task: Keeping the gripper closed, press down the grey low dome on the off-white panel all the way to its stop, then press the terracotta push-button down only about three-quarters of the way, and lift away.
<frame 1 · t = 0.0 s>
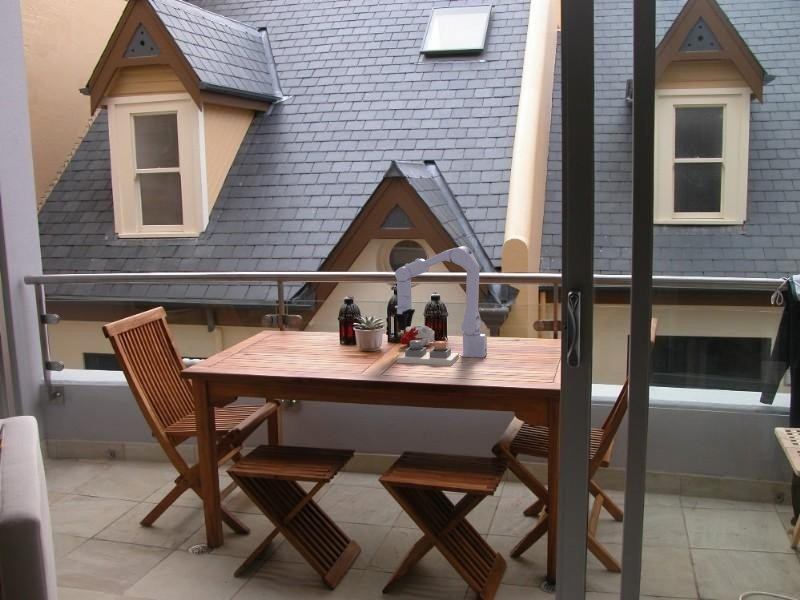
hand: (405, 328, 329), 10 cm above the table, fingers open, 7 cm apart
terracotta button: (440, 345, 313), point 6 cm above the table, slide at 0.0 cm
grey low dome: (415, 344, 316), point 6 cm above the table, slide at 0.0 cm
button panel: (428, 360, 315), on the table
white red irregular piece: (414, 346, 342), on the table
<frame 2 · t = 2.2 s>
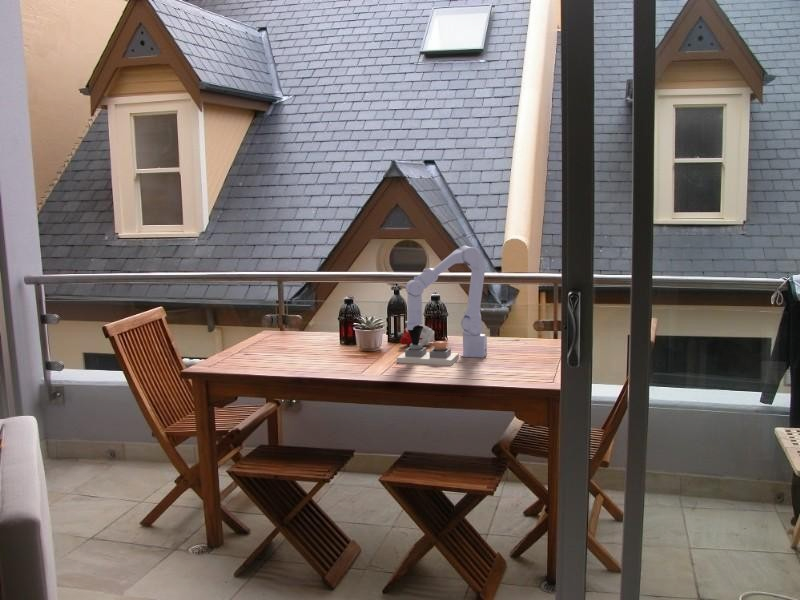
hand: (415, 344, 316), 6 cm above the table, fingers closed, pressing on grey low dome
grey low dome: (415, 347, 316), point 5 cm above the table, slide at 1.2 cm, touching gripper
everything else where it was.
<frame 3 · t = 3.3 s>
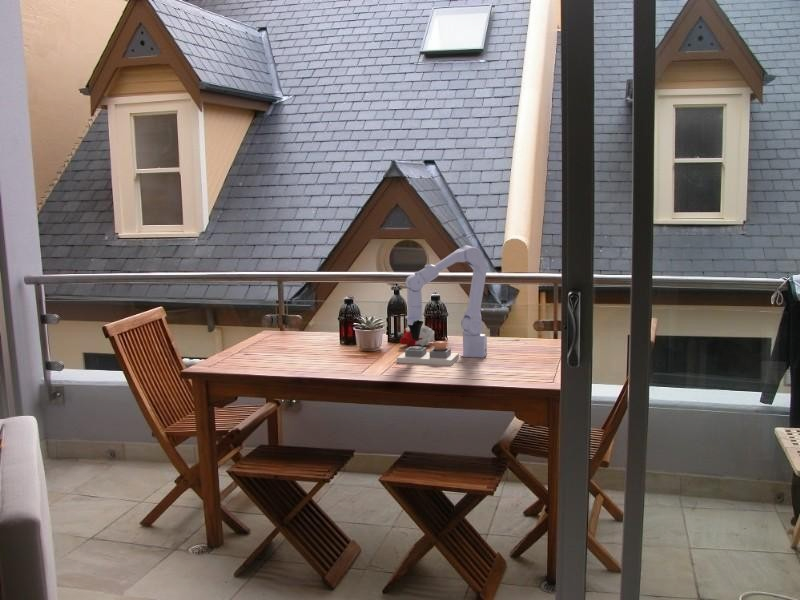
hand: (415, 339, 315), 8 cm above the table, fingers closed
grey low dome: (415, 350, 316), point 4 cm above the table, slide at 2.5 cm
everything else where it was.
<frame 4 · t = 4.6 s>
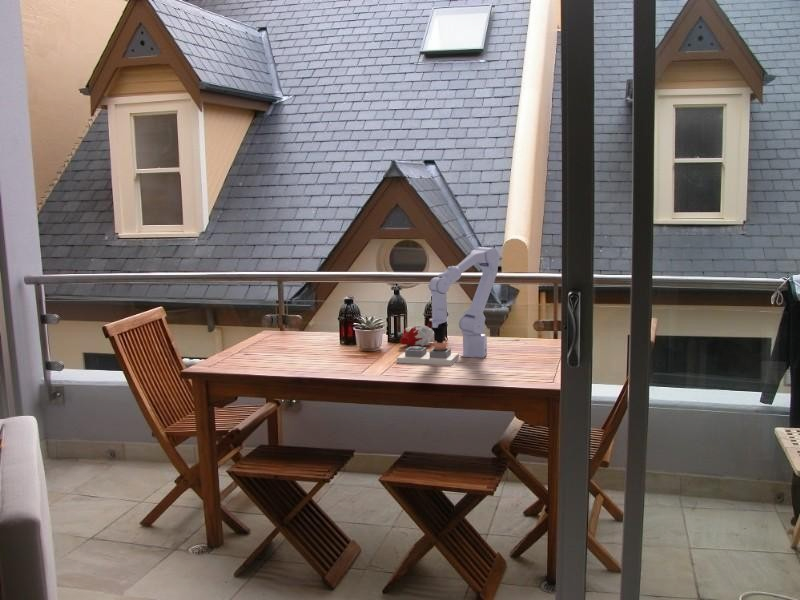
hand: (440, 342, 312), 7 cm above the table, fingers closed, pressing on terracotta button
terracotta button: (440, 345, 313), point 6 cm above the table, slide at 0.0 cm, touching gripper
everything else where it was.
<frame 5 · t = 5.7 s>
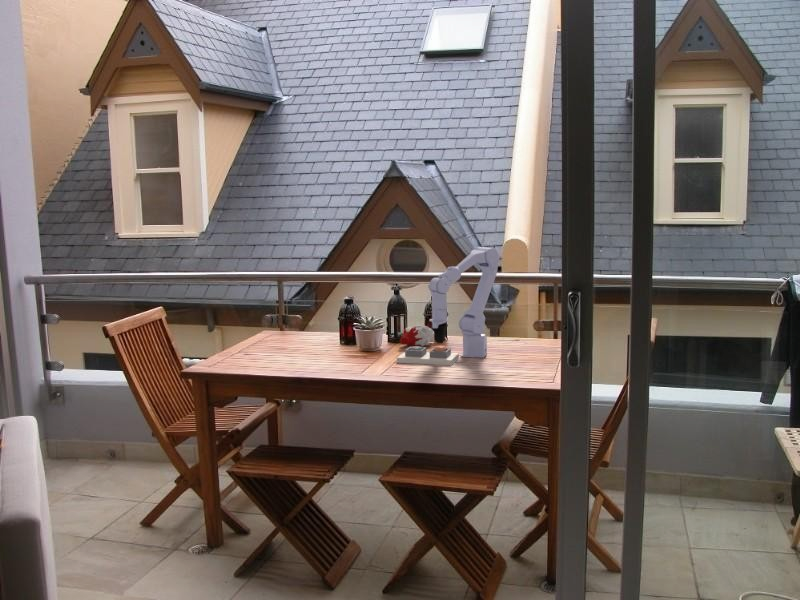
hand: (440, 342, 312), 7 cm above the table, fingers closed
terracotta button: (440, 350, 313), point 4 cm above the table, slide at 1.8 cm
everything else where it was.
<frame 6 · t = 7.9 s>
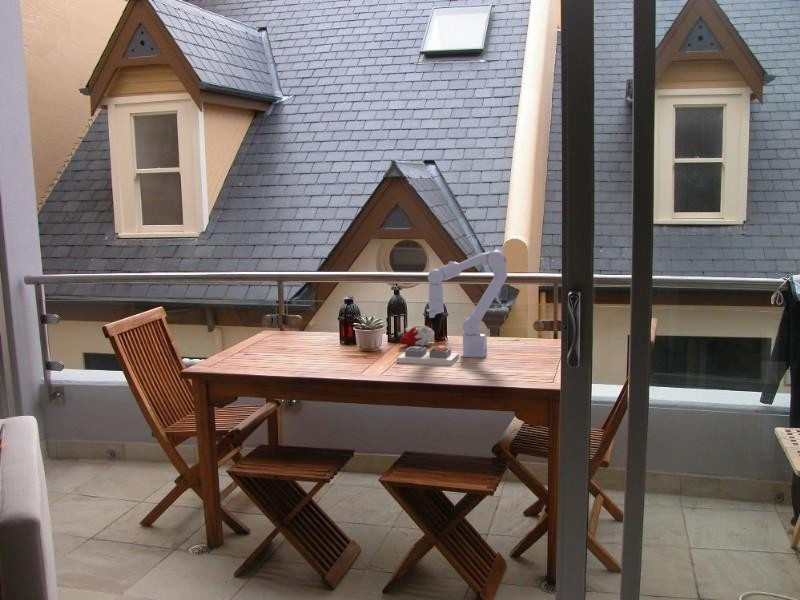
hand: (436, 332, 323), 9 cm above the table, fingers closed
nothing on the table moved.
at the end: grey low dome slide at 2.5 cm; terracotta button slide at 1.8 cm; white red irregular piece moved 0.3 cm from its start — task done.
